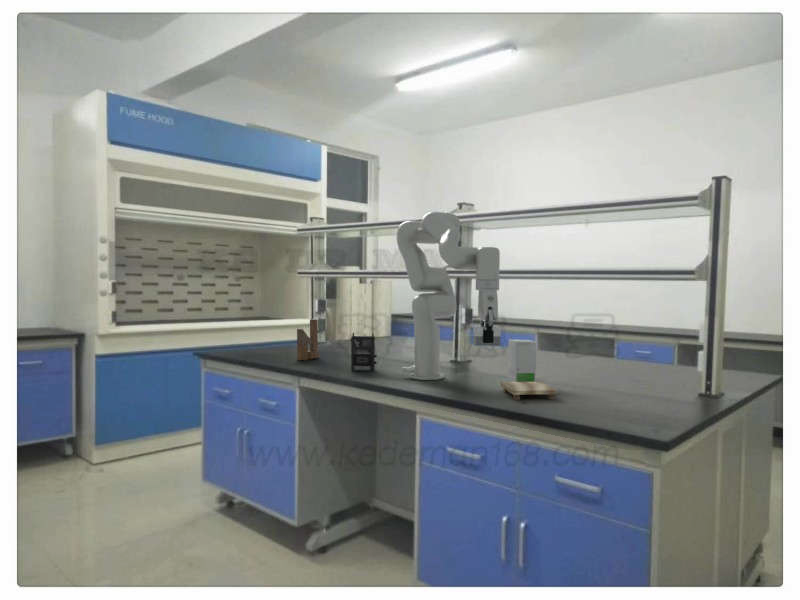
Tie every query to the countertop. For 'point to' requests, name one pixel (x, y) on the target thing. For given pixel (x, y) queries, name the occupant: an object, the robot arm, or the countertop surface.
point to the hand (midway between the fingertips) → (486, 341)
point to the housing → (479, 336)
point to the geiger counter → (363, 353)
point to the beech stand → (528, 389)
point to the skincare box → (521, 361)
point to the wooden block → (308, 342)
